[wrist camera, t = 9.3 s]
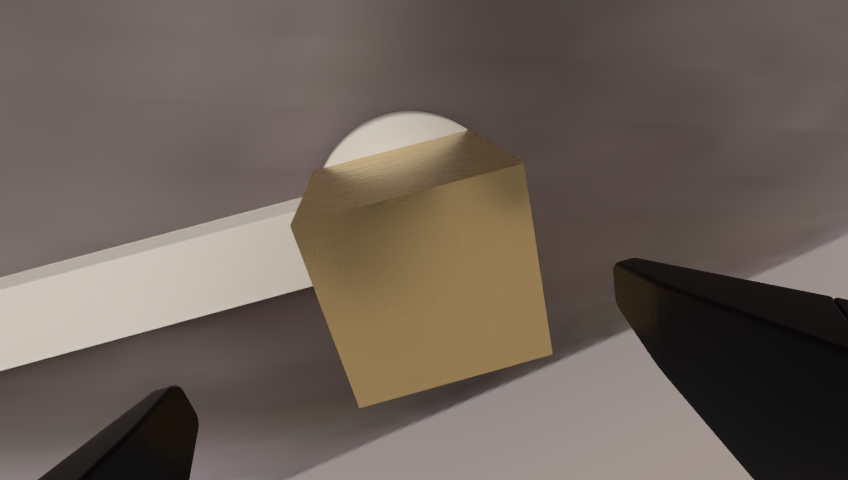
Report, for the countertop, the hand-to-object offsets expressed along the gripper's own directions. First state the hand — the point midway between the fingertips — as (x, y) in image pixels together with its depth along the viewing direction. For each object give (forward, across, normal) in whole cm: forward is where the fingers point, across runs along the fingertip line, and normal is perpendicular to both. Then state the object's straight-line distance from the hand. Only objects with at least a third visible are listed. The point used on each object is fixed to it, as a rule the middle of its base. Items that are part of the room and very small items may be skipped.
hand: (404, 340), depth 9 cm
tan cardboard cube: (+9, -1, +1) cm, 9 cm away
